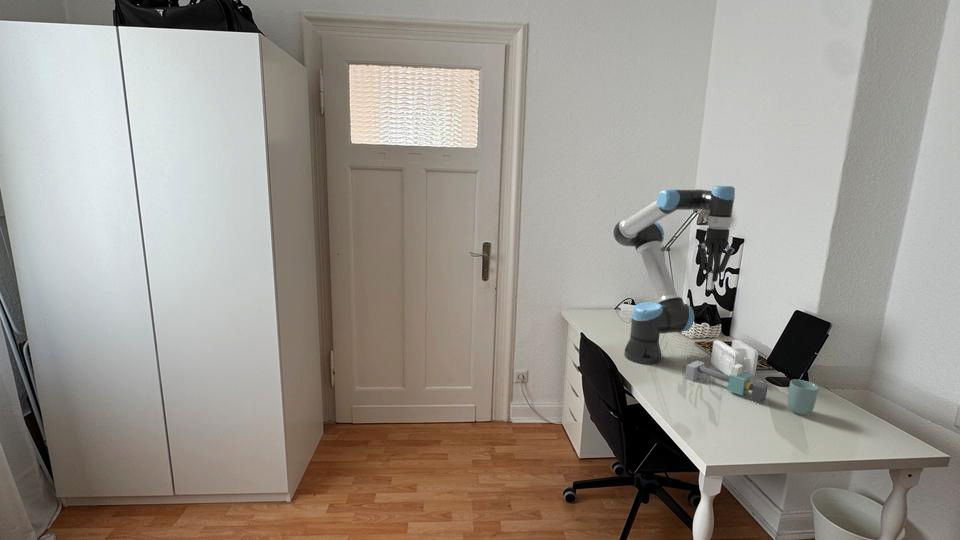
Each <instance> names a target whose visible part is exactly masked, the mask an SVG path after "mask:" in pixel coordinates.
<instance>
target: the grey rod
mask: <svg viewBox="0 0 960 540" xmlns="http://www.w3.org/2000/svg"><path fill="white" fill-rule="evenodd" d="M697 371H698V372H700V373H703V374H704V375H706V376H709V377H712V378H714V379H717V380H720V381H723V382H727V383H729V376H728V375H725V374H724V373H723V372H720V371H716V370H714V369H710V368H707V367H705V366H704V367H702V366H699V367H698V370H697ZM754 384H755V383H751V382H750V383H749V382H745V389H747V390H749V391H751V392H752V389H753V385H754Z"/></svg>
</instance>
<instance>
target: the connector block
mask: <svg viewBox="0 0 960 540" xmlns="http://www.w3.org/2000/svg"><path fill="white" fill-rule="evenodd" d="M753 384H754V385H753V389H752V391H751V396H750V401H751V402H752V401H753V402H752V403H755V402H756V403H755V404H758V403H759V405H760V404H762V403H764V402H765V401H766V400H767V394H768V388H769V384H768V383H765V382H763V381H759V380H758V381H757V382H756V383H753Z"/></svg>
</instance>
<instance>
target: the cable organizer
mask: <svg viewBox="0 0 960 540" xmlns="http://www.w3.org/2000/svg"><path fill="white" fill-rule="evenodd" d="M710 357H711V358H710V363H711V365H712V366H713V367H714V368H715V369H717V370H718V371H719V372H720V373H722V374H725V375H728V376H730V374H731V369H732V366H734V365H735V364H740V365H743V368H742V373H745V374H749V375H751V377H754V376H756V371H757V365H758V360H759V352H758V350H757V349H755V348H754V347H752V346H750V345H749V344H746V343H745V342H743V341H741V340H739V339H733V340H732V342H731V346H730V345H728V344H727V343H725V342H723V341H722V340H719V339H718V340H714V341H713V343H712V350H711V356H710Z"/></svg>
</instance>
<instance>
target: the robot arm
mask: <svg viewBox="0 0 960 540" xmlns="http://www.w3.org/2000/svg"><path fill="white" fill-rule="evenodd" d="M735 189H736V188H735V187H734V186H731V185H714V186H712V190H707V189H697V188H696V189H672V188H671V189H663V190H661V191H660V192H658V195H657V196H656V200H655V201H653V202H652V203H650V204H649V205H647V206H645V207H644V208H642V209H641V210H639V211H638V212H636V213H634V214H633V215H631V216H630V217H624V218H623V219H621V220H620V221H618V222H617V223H616V224H615V226H614V228H613V231H612V232H613V233H612V234H613V238H614V239H615V241H616V243H618V244H619V245H621V246H625V247H634V248H635V250H636V253H637V254H640V255H641V258H642V261H643V265H644V267H645V270H646V272H647V275H648V278H649V279H648V280H649V282H650V284H651V287H652V290H653V293H654V296H655V299H656V302H653V301H650V302H649V301H644V302H640V303H637V304H636V305H634V306H633V308H632V314H631V326H630V333H629V334H630V336H629V340H628V341H627V343H626V346H625V347H624V352H623V355H624V357H625V358H626V359H628V360H629V361H632V362H634V363H639V364H645V365H656V364H659V363H660V362H661V361H662V356H663V354H662V350H661V346H660V336H661V334H671V333H673V334H674V333H683V332H687V331H689V330H690V329H691V328H692V327H693V325H694V322H695V313H694V310H693V308H692V306H691V305H689V304H687V303H686V304H685V303H684V300H683V297H681V296H679V295H678V294H677V292H676V289H675V287H674V286H675V285H674V284H673V280H672V278H671V275H670V272H669V270H668V267H667V264H666V260H665V259H664V256H663V253H662V250H661V248H662V245H663V241H664V239H665V237H664V236H665V232H664V228H663V227H662V225H661V224H660V223H659V222H658V221H661V220H662V219H664V218H666V217H667V216H669V215H670V214H673V213H674V212H676V211H677V210H680V211H681V210H683V211H685V210H688V211H689V210H691V211H693V210H698V211H709V212H708V220H707V229H706V235H705V239H704V241H703V242H702V243H700V244H697V248H698V251H699V256H700V257H699V258H700V266H701V270H702V271H705V272H706V274H705V280H706V281H707V282H706V290H707V291H713V290H714V289H715V282H717V281H718V277H719V273H723V272H725V270H726V268H727V265H728V263H729V260H730V259H731V256H732V254H733V253H734V252H735V251H736V250H735V248H734V247H733V248H732V247H731V246H730V243H729V236H730V228H731V222H732V215H733V214H732V213H733V208H734V202H735V192H736V190H735ZM706 250H707V251H706ZM724 251H725V253H724V255H723V252H724ZM722 256H723V258H722Z"/></svg>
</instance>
